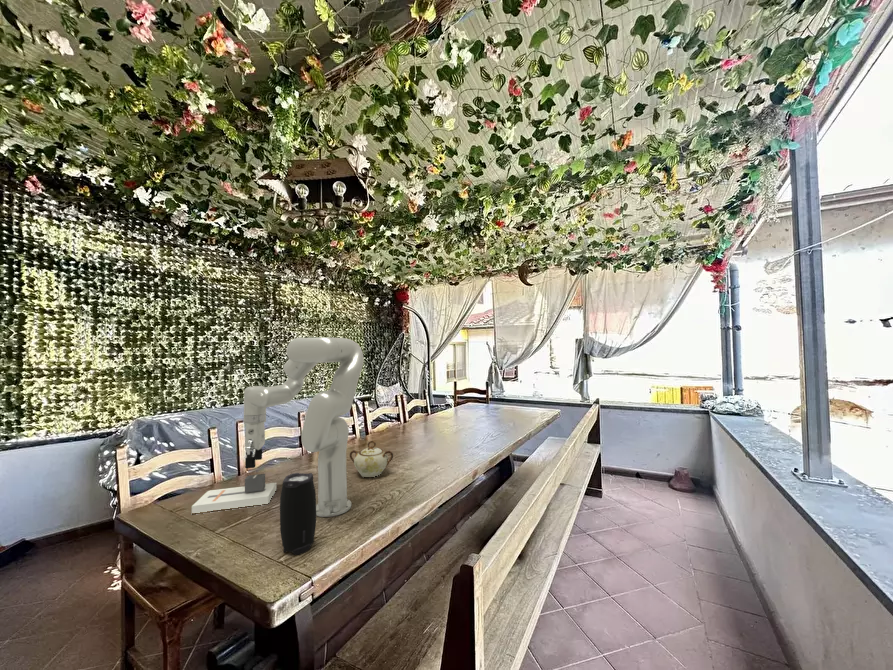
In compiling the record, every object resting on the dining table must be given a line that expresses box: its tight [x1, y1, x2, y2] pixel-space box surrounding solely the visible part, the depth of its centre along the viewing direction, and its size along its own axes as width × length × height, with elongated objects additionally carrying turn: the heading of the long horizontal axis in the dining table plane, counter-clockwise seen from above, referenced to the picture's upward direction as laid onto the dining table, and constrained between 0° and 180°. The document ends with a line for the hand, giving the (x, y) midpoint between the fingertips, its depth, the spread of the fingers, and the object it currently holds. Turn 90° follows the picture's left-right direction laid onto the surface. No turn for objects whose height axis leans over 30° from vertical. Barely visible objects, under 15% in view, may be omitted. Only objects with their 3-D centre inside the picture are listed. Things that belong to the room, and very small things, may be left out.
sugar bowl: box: [349, 440, 394, 478], centre depth 151 cm, size 20×15×15 cm
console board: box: [191, 482, 277, 514], centre depth 127 cm, size 14×24×3 cm, turn 106°
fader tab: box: [244, 473, 266, 493], centre depth 129 cm, size 4×6×5 cm
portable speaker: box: [279, 472, 317, 556], centre depth 95 cm, size 9×9×20 cm
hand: (253, 463), depth 129 cm, fingers open, 9 cm apart
